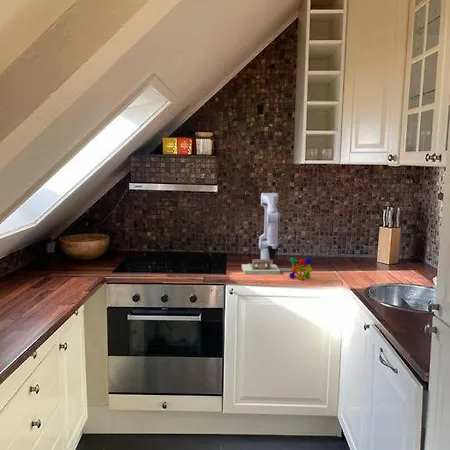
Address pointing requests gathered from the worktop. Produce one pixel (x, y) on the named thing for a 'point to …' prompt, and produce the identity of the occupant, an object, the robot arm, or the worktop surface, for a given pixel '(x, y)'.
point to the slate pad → (285, 269)
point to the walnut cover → (261, 262)
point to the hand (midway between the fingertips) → (271, 259)
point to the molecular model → (300, 268)
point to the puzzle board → (249, 269)
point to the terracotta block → (261, 266)
